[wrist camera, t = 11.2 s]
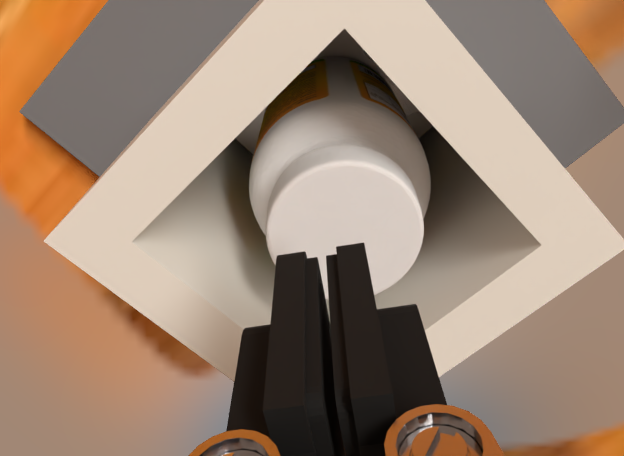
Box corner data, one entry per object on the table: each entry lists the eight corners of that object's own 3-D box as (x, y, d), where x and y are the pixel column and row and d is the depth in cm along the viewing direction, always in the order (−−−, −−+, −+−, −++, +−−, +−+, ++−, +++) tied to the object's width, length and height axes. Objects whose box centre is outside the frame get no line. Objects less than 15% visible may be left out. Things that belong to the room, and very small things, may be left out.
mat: (619, 111, 25) (631, 117, 24) (320, 343, 30) (320, 356, 30) (333, -272, 19) (334, -282, 18) (29, 105, 25) (19, 111, 24)
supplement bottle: (262, 182, 24) (236, 320, 15) (265, 49, 22) (235, 125, 13) (390, 188, 24) (435, 330, 16) (407, 58, 22) (472, 139, 13)
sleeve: (495, 116, 24) (629, 245, 14) (322, 261, 27) (330, 452, 17) (330, -79, 21) (348, -92, 11) (155, 113, 24) (43, 241, 14)
